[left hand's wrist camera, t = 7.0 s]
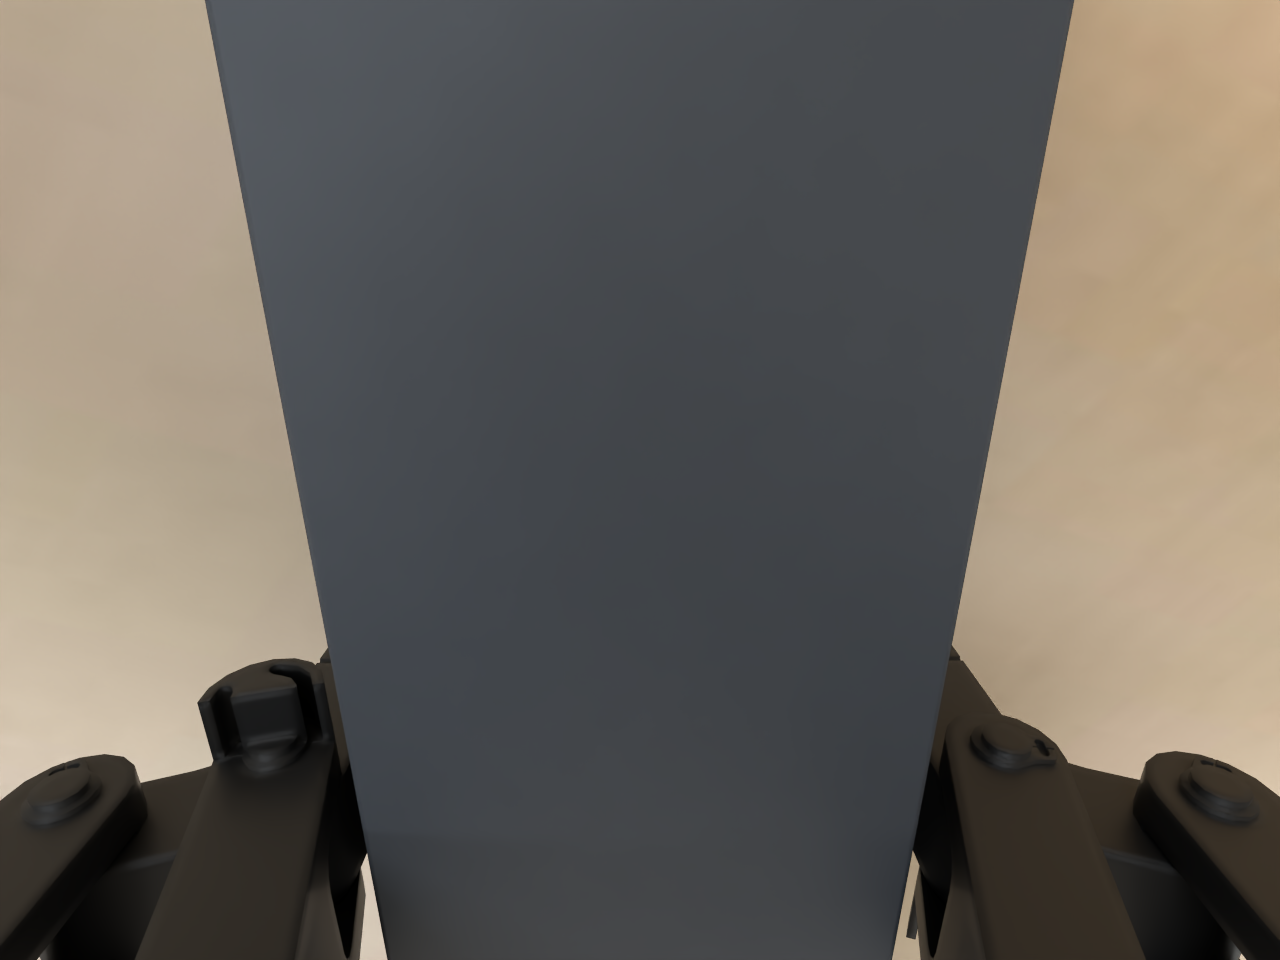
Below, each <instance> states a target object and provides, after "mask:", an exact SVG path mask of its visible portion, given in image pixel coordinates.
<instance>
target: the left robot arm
mask: <svg viewBox="0 0 1280 960" xmlns="http://www.w3.org/2000/svg"><path fill="white" fill-rule="evenodd" d="M198 707H199V710H200V714H201V717H202V721H203V725H204V728H205V732H206V735H207V739H208V742H209V746H210V750H211V753H212V757H213V760H214V761H213V763H212V766H210V767H206V768H203V769H199V770H196V771H192V772H188V773H183V774H179V775H174V776H170V777H165V778H161V779H157V780H152V781H148V782H143V783H140V781H139V778H138V775H137V772H136V769H135V766H134V765H133V764H132V763H131V762H130V761H128V760H127V759H126V758H125V757H121V756H114V755H107V754H103V755H96V756H89V757H82V758H78V759H75V760H72V761H68V762H66V763H62V764H60V765H57V766H54V767H52V768H50V769H48V770H46V771H44V772H42V773H40V774H38V775H37V776H35V777H33V778H31V779H29V780H27V781H25V782H24V783H22V784H21V785H20V786H19V787H17V788H16V789H15V790H13V791H12V792H11V793H10V794H8V795H7V796H6V797H4V798H3V799H2V800H1V801H0V960H37V959H38V958H39V957H40V959H41V960H359V958H360V948H361V938H362V927H363V917H364V907H365V896H366V895H365V888H364V881H363V876H362V871H361V866H362V863H363V861H364V859H365V856H366V854H367V849H366V844H365V838H364V833H363V828H362V823H361V817H360V812H359V807H358V802H357V796H356V791H355V786H354V781H353V775H352V770H351V765H350V759H349V754H348V749H347V744H346V738H345V733H344V728H343V723H342V717H341V712H340V707H339V702H338V696H337V691H336V686H335V681H334V675H333V670H332V665H331V660H330V654H329V649H327V650H326V651H325V653H324V654H323V656H322V657H321V658H320V663H317V664H316V665H315V664H313V663H312V662H308V661H304V660H300V659H295V658H293V659H273V660H269V661H265V662H261V663H256V664H252V665H249V666H247V667H244V668H242V669H240V670H238V671H235V672H233V673H231V674H229V675H227V676H225V677H224V678H222V679H221V680H220V681H218V682H217V683H215V684H214V685H213V686H211V687H210V688H209V689H208V690H207V691H206V692H205V694H204V695H203V696H202V697H201V699H200V700H199V701H198ZM913 851H914V854H915V856H916V858H917V861H918V863H919V865H920V866H919V871H918V876H917V881H916V886H915V891H914V896H913V901H912V906H911V912H910V917H909V922H908V928H907V935H906V937H908V938H912V939H916V934H917V929H918V936H919V946H920V957H921V960H1240V959H1239V957H1240V955H1241V953H1242V955H1243V956H1244V957H1245V958H1246V960H1280V797H1279V796H1278V795H1277V794H1275V793H1274V792H1273V791H1271V790H1270V789H1269V788H1267V787H1266V786H1265V785H1264V784H1262V783H1261V782H1260V781H1258V780H1257V779H1256V778H1254V777H1252V776H1250V775H1248V774H1246V773H1244V772H1242V771H1240V770H1239V769H1237V768H1235V767H1233V766H1231V765H1229V764H1226V763H1224V762H1221V761H1219V760H1215V759H1213V758H1209V757H1206V756H1203V755H1199V754H1192V753H1185V752H1178V751H1173V752H1166V753H1159V754H1156V755H1155V756H1153V757H1152V758H1151V759H1150V760H1148V761H1147V762H1146V764H1145V767H1144V770H1143V773H1142V776H1141V779H1140V780H1137V779H1132V778H1128V777H1123V776H1119V775H1114V774H1110V773H1105V772H1101V771H1096V770H1092V769H1087V768H1084V767H1080V766H1077V765H1073V764H1070V763H1068V762H1067V759H1066V758H1065V757H1064V755H1063V754H1062V752H1061V751H1060V749H1059V748H1058V746H1057V745H1056V744H1055V743H1054V742H1053V741H1052V740H1050V739H1049V738H1048V737H1047V736H1046V735H1044V734H1043V733H1042V732H1041V731H1039V730H1038V729H1036V728H1034V727H1032V726H1030V725H1028V724H1026V723H1024V722H1022V721H1020V720H1018V719H1015V718H1011V717H1007V716H1004V715H1001V713H1000V712H999V711H998V709H997V708H996V706H995V705H994V704H993V702H992V701H991V699H990V698H989V697H988V695H987V694H986V692H985V691H984V690H983V688H982V687H981V685H980V684H979V683H978V681H977V680H976V678H975V677H974V676H973V674H972V673H971V671H970V670H969V669H968V667H967V666H966V664H965V663H964V662H963V661H960V656H959V655H958V653H957V652H956V650H955V649H954V648H953V646H951V651H950V656H949V661H948V667H947V672H946V677H945V682H944V688H943V693H942V698H941V703H940V709H939V714H938V719H937V725H936V730H935V735H934V740H933V746H932V751H931V756H930V761H929V767H928V772H927V777H926V782H925V788H924V793H923V798H922V803H921V809H920V814H919V819H918V825H917V830H916V835H915V840H914V846H913Z"/></svg>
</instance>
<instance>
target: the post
mask: <svg viewBox="0 0 1280 960" xmlns="http://www.w3.org/2000/svg"><path fill="white" fill-rule="evenodd" d="M205 3H206V8H207V13H208V18H209V24H210V29H211V34H212V39H213V45H214V50H215V55H216V60H217V66H218V71H219V76H220V81H221V87H222V92H223V97H224V102H225V108H226V113H227V118H228V124H229V129H230V134H231V139H232V145H233V150H234V155H235V160H236V166H237V171H238V176H239V181H240V187H241V192H242V197H243V202H244V208H245V213H246V218H247V223H248V229H249V234H250V239H251V244H252V250H253V255H254V260H255V265H256V271H257V276H258V281H259V286H260V292H261V297H262V302H263V307H264V313H265V318H266V323H267V328H268V334H269V339H270V344H271V350H272V355H273V360H274V365H275V371H276V376H277V381H278V386H279V392H280V397H281V402H282V407H283V413H284V418H285V423H286V428H287V434H288V439H289V444H290V449H291V455H292V460H293V465H294V470H295V476H296V481H297V486H298V491H299V497H300V502H301V507H302V512H303V518H304V523H305V528H306V533H307V539H308V544H309V549H310V555H311V560H312V565H313V570H314V576H315V581H316V586H317V591H318V597H319V602H320V607H321V612H322V618H323V623H324V628H325V633H326V639H327V644H328V649H329V654H330V660H331V665H332V670H333V675H334V681H335V686H336V691H337V696H338V702H339V707H340V712H341V717H342V723H343V728H344V733H345V738H346V744H347V749H348V754H349V759H350V765H351V770H352V775H353V781H354V786H355V791H356V796H357V802H358V807H359V812H360V817H361V823H362V828H363V833H364V838H365V844H366V849H367V854H368V859H369V865H370V870H371V875H372V880H373V886H374V891H375V896H376V901H377V907H378V912H379V917H380V922H381V928H382V933H383V938H384V943H385V949H386V954H387V959H388V960H892V956H893V951H894V946H895V940H896V935H897V930H898V925H899V919H900V914H901V909H902V903H903V898H904V893H905V888H906V882H907V877H908V872H909V867H910V861H911V856H912V851H913V846H914V840H915V835H916V830H917V825H918V819H919V814H920V809H921V803H922V798H923V793H924V788H925V782H926V777H927V772H928V767H929V761H930V756H931V751H932V746H933V740H934V735H935V730H936V725H937V719H938V714H939V709H940V703H941V698H942V693H943V688H944V682H945V677H946V672H947V667H948V661H949V656H950V651H951V646H952V640H953V635H954V630H955V625H956V619H957V614H958V609H959V603H960V598H961V593H962V588H963V582H964V577H965V572H966V567H967V561H968V556H969V551H970V546H971V540H972V535H973V530H974V525H975V519H976V514H977V509H978V503H979V498H980V493H981V488H982V482H983V477H984V472H985V467H986V461H987V456H988V451H989V446H990V440H991V435H992V430H993V425H994V419H995V414H996V409H997V403H998V398H999V393H1000V388H1001V382H1002V377H1003V372H1004V367H1005V361H1006V356H1007V351H1008V346H1009V340H1010V335H1011V330H1012V325H1013V319H1014V314H1015V309H1016V303H1017V298H1018V293H1019V288H1020V282H1021V277H1022V272H1023V267H1024V261H1025V256H1026V251H1027V246H1028V240H1029V235H1030V230H1031V225H1032V219H1033V214H1034V209H1035V203H1036V198H1037V193H1038V188H1039V182H1040V177H1041V172H1042V167H1043V161H1044V156H1045V151H1046V146H1047V140H1048V135H1049V130H1050V125H1051V119H1052V114H1053V109H1054V103H1055V98H1056V93H1057V88H1058V82H1059V77H1060V72H1061V67H1062V61H1063V56H1064V51H1065V46H1066V40H1067V35H1068V30H1069V25H1070V19H1071V14H1072V9H1073V3H1074V0H205Z"/></svg>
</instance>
